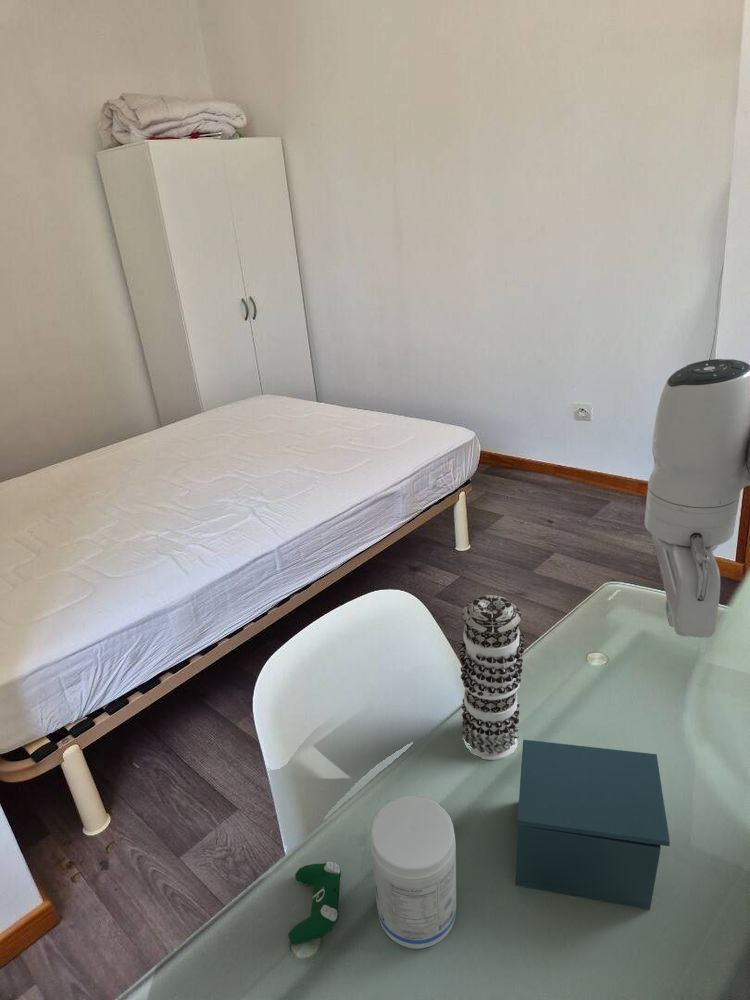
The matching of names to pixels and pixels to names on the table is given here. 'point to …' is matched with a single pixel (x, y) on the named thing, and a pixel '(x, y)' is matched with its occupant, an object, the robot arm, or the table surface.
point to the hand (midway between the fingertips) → (674, 619)
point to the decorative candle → (491, 676)
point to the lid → (592, 792)
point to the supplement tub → (414, 871)
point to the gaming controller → (318, 901)
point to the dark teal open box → (587, 866)
